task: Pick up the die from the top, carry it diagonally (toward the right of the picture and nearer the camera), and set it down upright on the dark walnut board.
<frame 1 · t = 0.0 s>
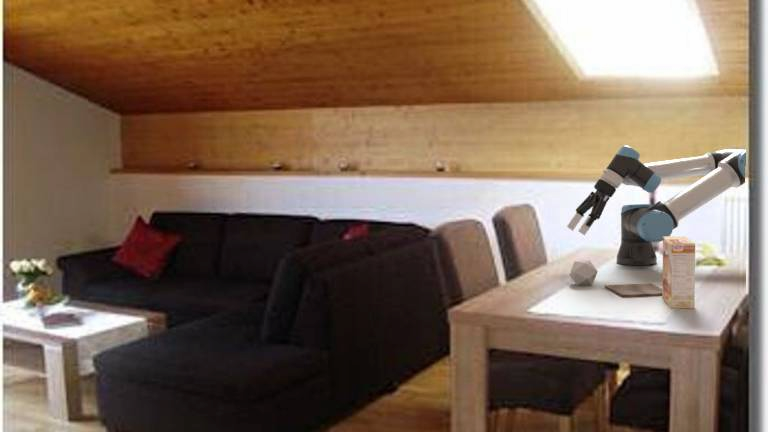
hand: (575, 231, 300), 15 cm above the table, tool tilted 35°, fingers open, 13 cm apart
die: (583, 285, 277), on the table
walnut board: (637, 291, 263), on the table
coffeecake box: (677, 303, 245), on the table
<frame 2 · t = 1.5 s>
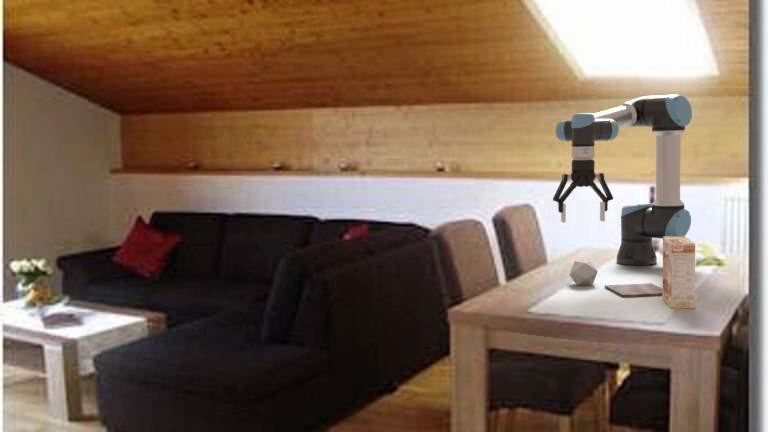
hand: (582, 221, 275), 22 cm above the table, tool pointing down, fingers open, 13 cm apart
nothing on the table moved.
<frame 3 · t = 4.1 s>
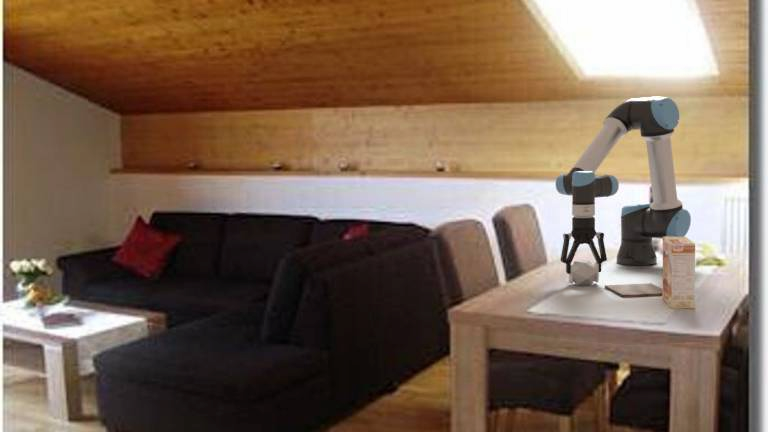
hand: (583, 282, 277), 1 cm above the table, tool pointing down, fingers closed on die, 8 cm apart
die: (583, 285, 277), on the table, touching gripper
everything else where it was.
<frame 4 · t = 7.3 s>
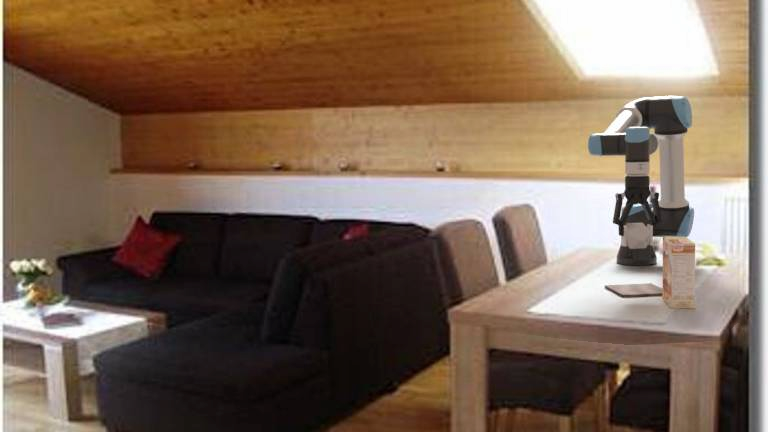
hand: (636, 245, 262), 15 cm above the table, tool pointing down, fingers closed on die, 8 cm apart
die: (636, 248, 262), point 14 cm above the table, touching gripper
everything else where it was.
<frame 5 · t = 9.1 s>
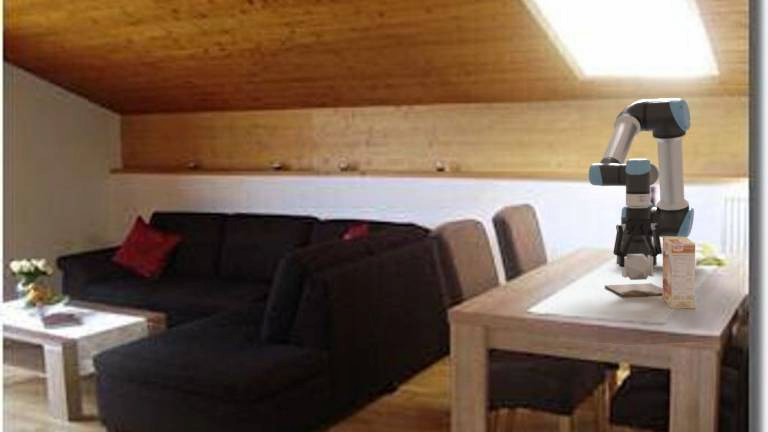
hand: (637, 276, 262), 5 cm above the table, tool pointing down, fingers closed on die, 8 cm apart
die: (636, 279, 262), point 4 cm above the table, touching gripper
everything else where it was.
when the fingers open (3 cm above the table, at t = 10.5 s): die drops 1 cm, resting on walnut board.
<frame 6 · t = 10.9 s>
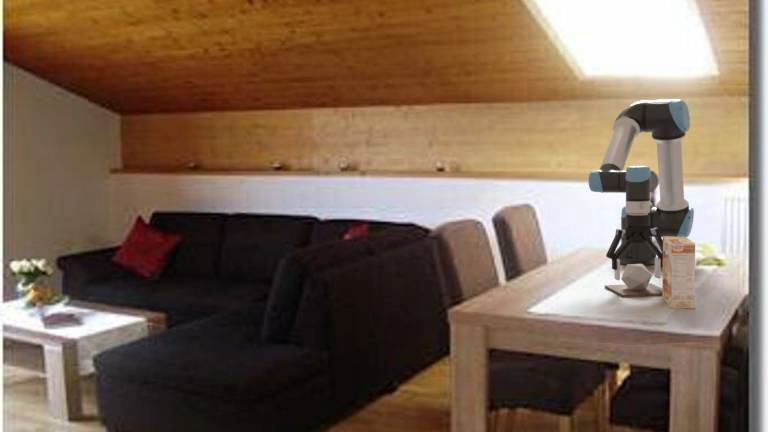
hand: (637, 278, 263), 4 cm above the table, tool pointing down, fingers open, 13 cm apart
die: (636, 289, 263), point 1 cm above the table, touching walnut board
everything else where it was.
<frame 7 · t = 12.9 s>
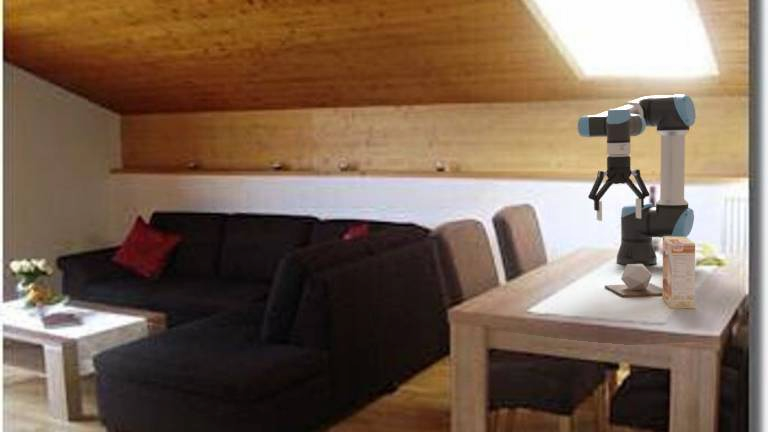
hand: (619, 219, 270), 23 cm above the table, tool pointing down, fingers open, 13 cm apart
nothing on the table moved.
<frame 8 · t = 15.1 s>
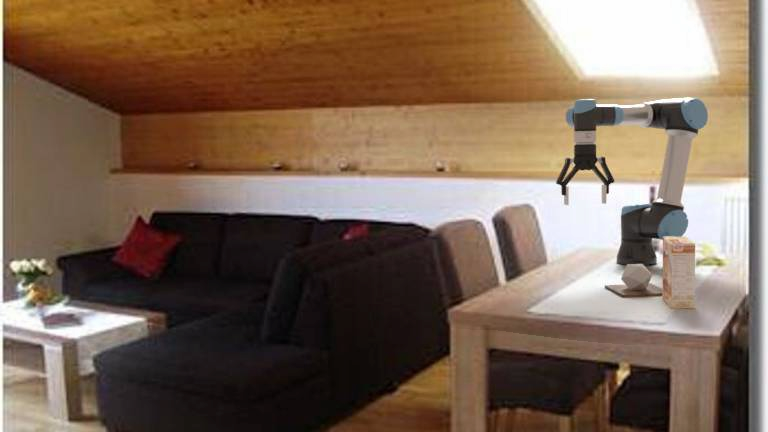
hand: (585, 204, 284), 27 cm above the table, tool pointing down, fingers open, 13 cm apart
nothing on the table moved.
at the end: die inside the target area on the walnut board (0.3 cm from its centre), point 0.6 cm above the walnut board's base; die tilted 2°; the gripper is holding nothing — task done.
